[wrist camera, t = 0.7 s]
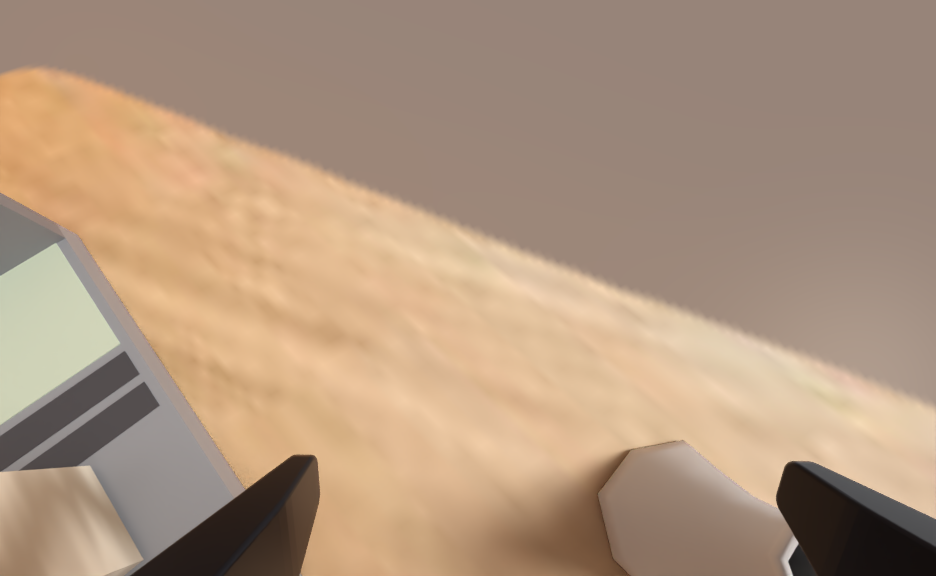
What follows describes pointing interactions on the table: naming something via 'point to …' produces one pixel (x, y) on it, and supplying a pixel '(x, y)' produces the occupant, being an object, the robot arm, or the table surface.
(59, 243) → the grey piece
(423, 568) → the table surface
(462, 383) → the table surface
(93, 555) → the maple block
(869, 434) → the table surface
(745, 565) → the flask
